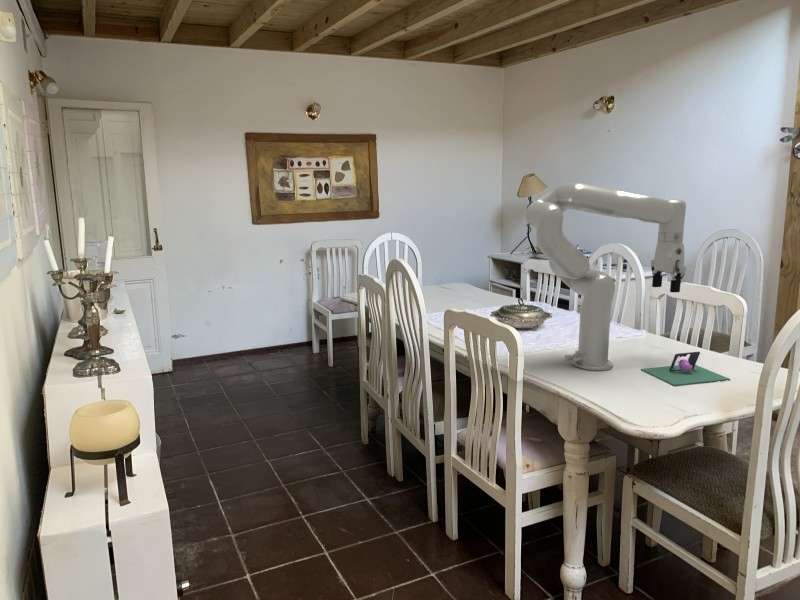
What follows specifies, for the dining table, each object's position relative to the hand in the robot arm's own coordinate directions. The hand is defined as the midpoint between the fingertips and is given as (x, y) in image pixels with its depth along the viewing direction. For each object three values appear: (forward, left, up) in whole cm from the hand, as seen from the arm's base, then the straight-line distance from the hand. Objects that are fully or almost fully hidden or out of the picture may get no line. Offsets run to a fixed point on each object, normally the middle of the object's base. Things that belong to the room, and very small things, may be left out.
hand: (665, 289), depth 199 cm
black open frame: (-1, -14, -25) cm, 28 cm away
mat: (-2, -15, -25) cm, 29 cm away
